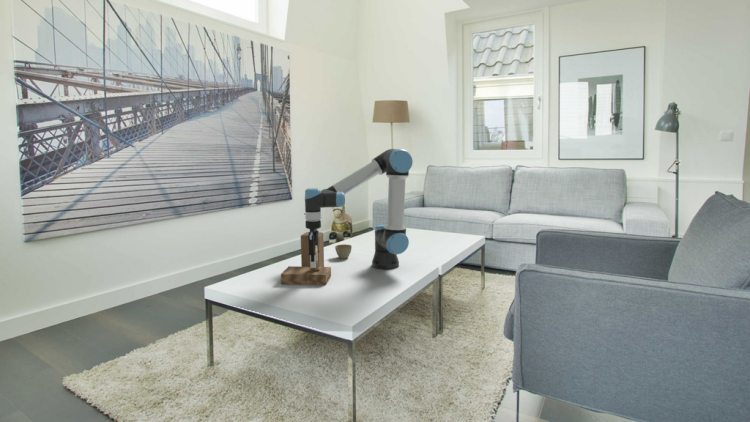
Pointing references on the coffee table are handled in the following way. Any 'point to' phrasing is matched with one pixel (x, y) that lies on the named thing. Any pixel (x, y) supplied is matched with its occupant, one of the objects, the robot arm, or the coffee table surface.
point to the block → (305, 250)
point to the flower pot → (343, 250)
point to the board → (306, 276)
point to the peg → (316, 261)
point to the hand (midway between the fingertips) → (314, 266)
